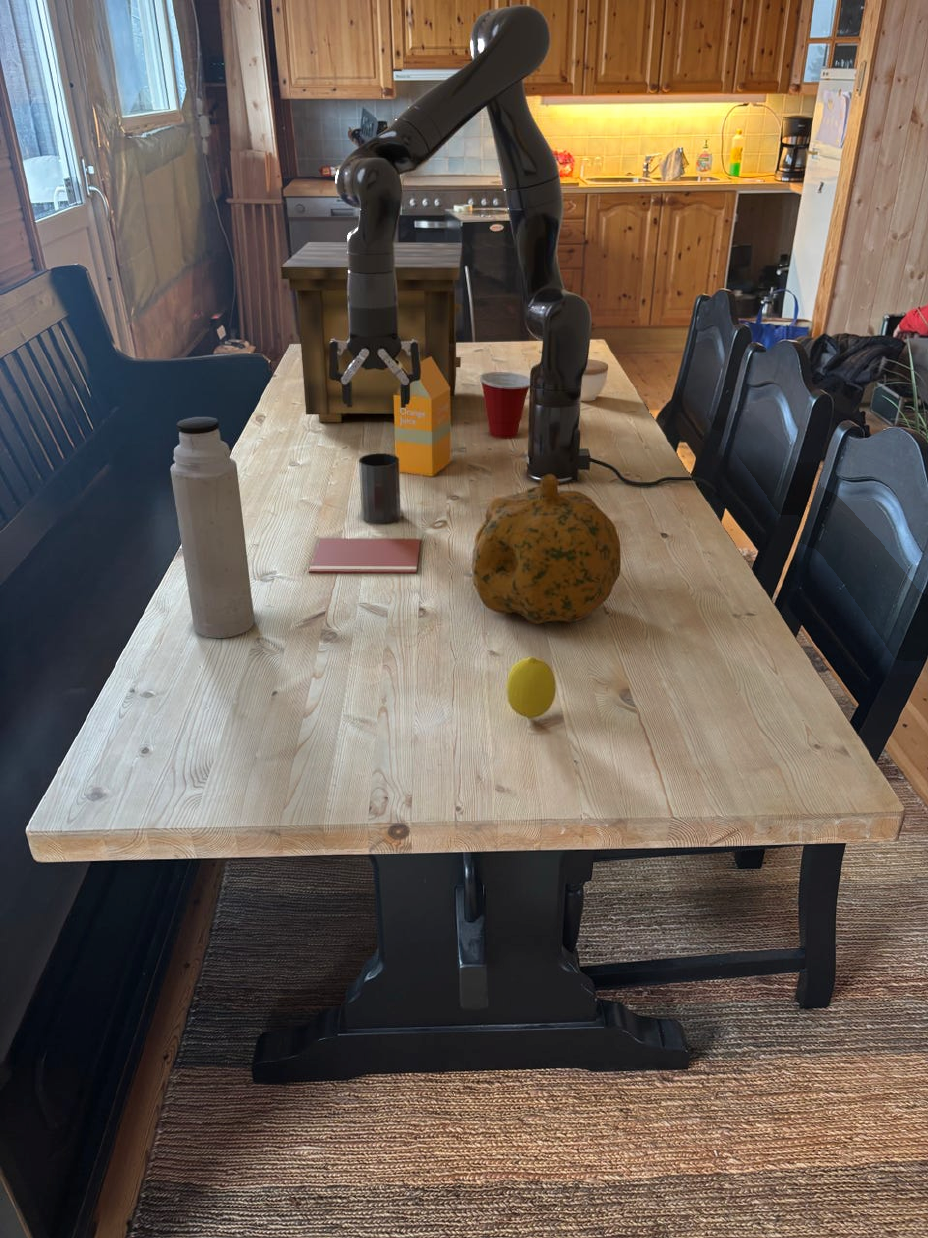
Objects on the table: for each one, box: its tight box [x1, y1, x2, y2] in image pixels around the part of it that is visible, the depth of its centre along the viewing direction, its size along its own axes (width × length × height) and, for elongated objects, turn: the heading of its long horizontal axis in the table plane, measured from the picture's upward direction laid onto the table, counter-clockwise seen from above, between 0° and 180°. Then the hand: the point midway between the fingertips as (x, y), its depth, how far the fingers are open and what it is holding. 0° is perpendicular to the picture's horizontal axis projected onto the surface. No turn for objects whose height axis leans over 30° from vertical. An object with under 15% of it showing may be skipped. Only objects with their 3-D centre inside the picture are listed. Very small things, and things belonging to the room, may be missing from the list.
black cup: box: [358, 452, 402, 525], centre depth 163 cm, size 6×6×10 cm
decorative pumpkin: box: [470, 474, 622, 625], centre depth 132 cm, size 20×21×20 cm
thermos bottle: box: [170, 416, 255, 639], centre depth 125 cm, size 8×8×28 cm
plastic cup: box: [479, 371, 530, 439], centre depth 202 cm, size 11×11×12 cm
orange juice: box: [393, 356, 452, 477], centre depth 183 cm, size 8×9×20 cm
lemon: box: [505, 656, 557, 720], centre depth 110 cm, size 6×6×8 cm
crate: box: [280, 241, 463, 423], centre depth 216 cm, size 35×35×33 cm
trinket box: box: [581, 358, 609, 402], centre depth 227 cm, size 11×11×9 cm
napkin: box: [308, 538, 421, 574], centre depth 151 cm, size 16×12×1 cm
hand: (376, 406), depth 156 cm, fingers open, 8 cm apart
